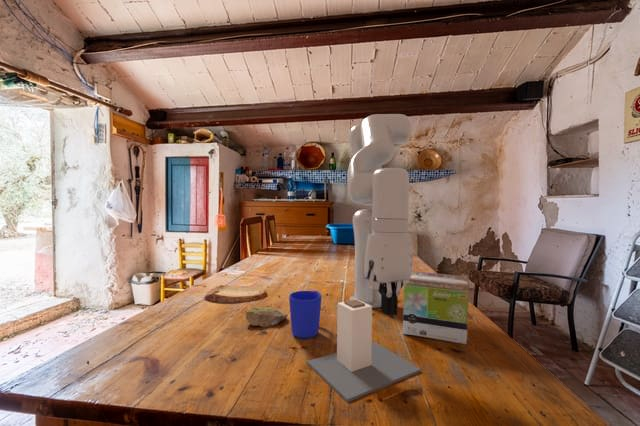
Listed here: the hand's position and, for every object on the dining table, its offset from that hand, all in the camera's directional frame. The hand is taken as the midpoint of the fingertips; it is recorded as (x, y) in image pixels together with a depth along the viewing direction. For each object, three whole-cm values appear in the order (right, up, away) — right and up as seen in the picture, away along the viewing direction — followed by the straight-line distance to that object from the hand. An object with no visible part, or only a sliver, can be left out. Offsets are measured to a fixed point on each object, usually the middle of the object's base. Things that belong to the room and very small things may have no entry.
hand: (389, 313), depth 63 cm
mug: (-18, -10, +14) cm, 25 cm away
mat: (-6, -10, -3) cm, 12 cm away
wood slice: (-45, -9, +43) cm, 63 cm away
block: (-8, -9, -2) cm, 12 cm away
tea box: (+15, -10, +14) cm, 23 cm away
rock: (-29, -10, +22) cm, 38 cm away
